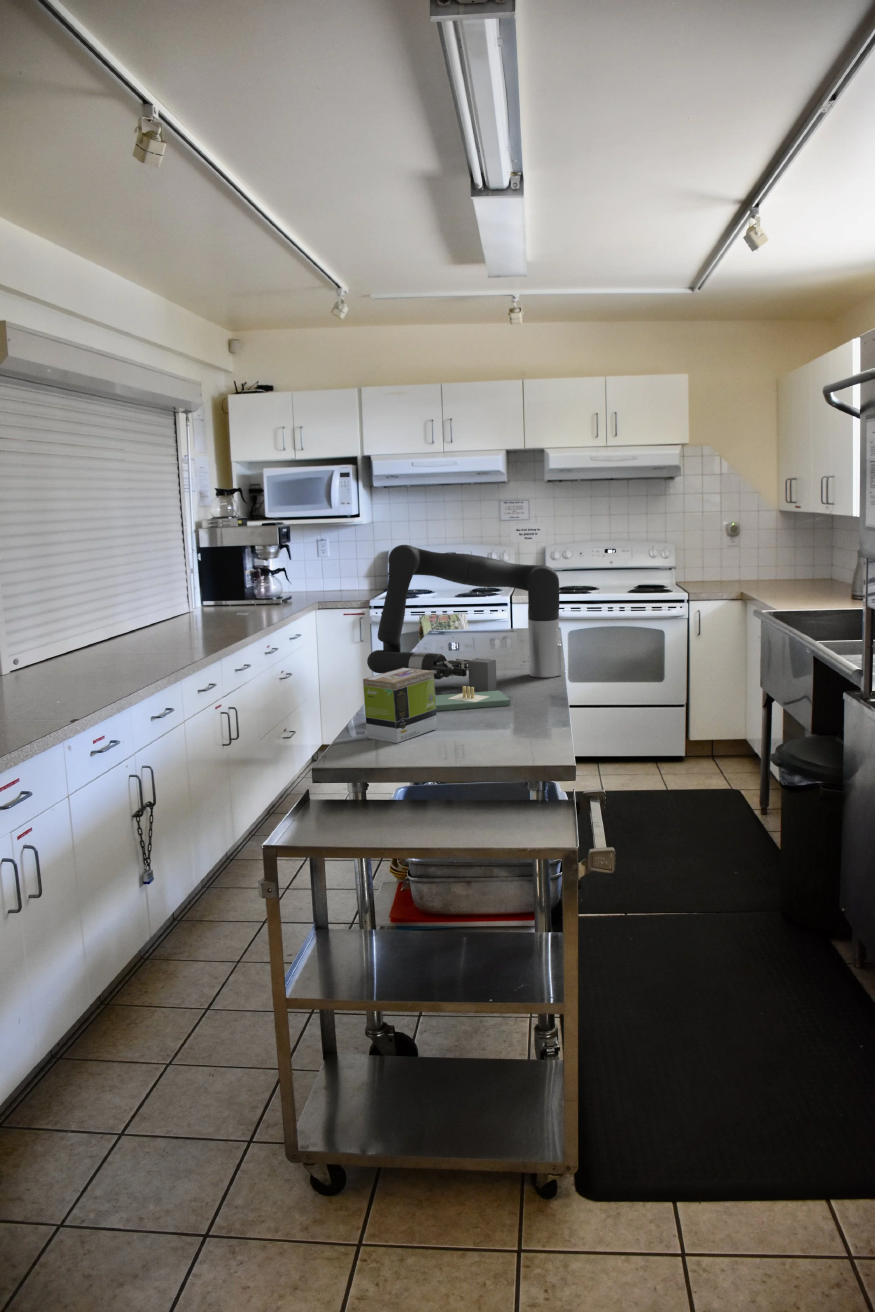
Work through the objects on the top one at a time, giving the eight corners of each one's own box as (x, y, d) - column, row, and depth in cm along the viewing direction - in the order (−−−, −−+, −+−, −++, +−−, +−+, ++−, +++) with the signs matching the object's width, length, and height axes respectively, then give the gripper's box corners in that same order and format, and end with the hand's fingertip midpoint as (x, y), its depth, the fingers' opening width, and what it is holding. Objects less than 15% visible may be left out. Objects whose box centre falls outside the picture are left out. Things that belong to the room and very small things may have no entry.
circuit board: (499, 695, 261) (498, 679, 261) (510, 705, 250) (509, 688, 249) (428, 701, 258) (427, 685, 257) (436, 711, 246) (435, 694, 245)
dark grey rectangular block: (469, 691, 268) (468, 660, 266) (477, 688, 271) (476, 658, 270) (488, 694, 264) (487, 662, 262) (496, 690, 268) (495, 659, 266)
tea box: (406, 724, 234) (404, 666, 231) (438, 730, 227) (435, 670, 225) (365, 738, 222) (361, 677, 220) (396, 744, 216) (394, 681, 213)
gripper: (412, 657, 271) (460, 661, 262) (440, 649, 282) (486, 652, 273) (414, 682, 272) (460, 687, 263) (441, 673, 284) (487, 678, 275)
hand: (474, 669), depth 268 cm, fingers open, 8 cm apart
